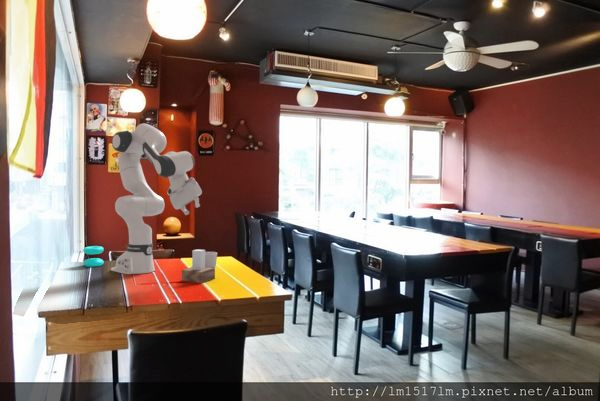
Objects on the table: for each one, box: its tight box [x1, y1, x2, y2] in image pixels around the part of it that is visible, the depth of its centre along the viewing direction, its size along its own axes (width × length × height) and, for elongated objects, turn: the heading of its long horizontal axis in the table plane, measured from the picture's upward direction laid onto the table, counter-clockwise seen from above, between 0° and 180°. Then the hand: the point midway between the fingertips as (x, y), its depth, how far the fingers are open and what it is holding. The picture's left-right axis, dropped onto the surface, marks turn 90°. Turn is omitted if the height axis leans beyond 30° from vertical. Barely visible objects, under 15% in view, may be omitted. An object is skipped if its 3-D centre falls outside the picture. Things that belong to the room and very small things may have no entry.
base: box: [181, 266, 216, 284], centre depth 218 cm, size 11×11×5 cm
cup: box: [205, 251, 218, 268], centre depth 246 cm, size 11×8×8 cm
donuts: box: [82, 245, 104, 268], centre depth 246 cm, size 10×10×10 cm
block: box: [191, 249, 206, 270], centre depth 217 cm, size 4×4×9 cm
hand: (192, 210), depth 218 cm, fingers open, 8 cm apart
